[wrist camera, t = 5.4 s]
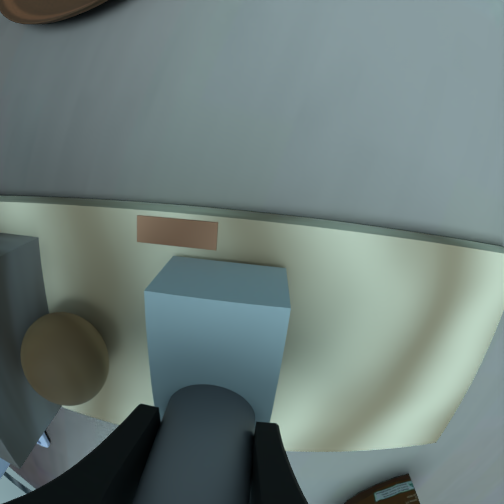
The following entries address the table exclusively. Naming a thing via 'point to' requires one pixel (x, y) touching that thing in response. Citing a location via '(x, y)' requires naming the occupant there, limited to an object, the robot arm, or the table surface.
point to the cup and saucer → (44, 10)
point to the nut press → (299, 327)
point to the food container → (388, 493)
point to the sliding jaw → (211, 375)
